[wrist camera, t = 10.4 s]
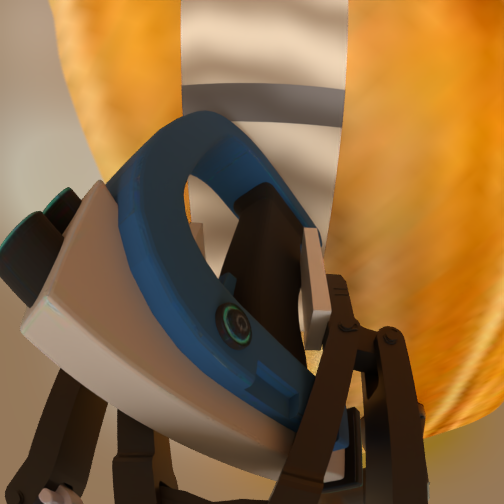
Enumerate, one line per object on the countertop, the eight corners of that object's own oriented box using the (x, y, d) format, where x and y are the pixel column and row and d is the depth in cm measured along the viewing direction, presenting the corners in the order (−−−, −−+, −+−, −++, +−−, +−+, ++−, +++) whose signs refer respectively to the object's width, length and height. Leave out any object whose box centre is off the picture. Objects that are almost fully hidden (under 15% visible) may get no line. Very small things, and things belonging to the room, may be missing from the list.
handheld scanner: (292, 276, 28) (294, 500, 11) (175, 135, 21) (-34, 305, 5) (335, 253, 26) (379, 484, 9) (220, 98, 20) (-5, 202, 3)
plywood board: (308, 323, 34) (308, 332, 33) (206, 317, 35) (204, 325, 34) (344, -29, 14) (347, -33, 13) (186, -31, 14) (181, -35, 13)
